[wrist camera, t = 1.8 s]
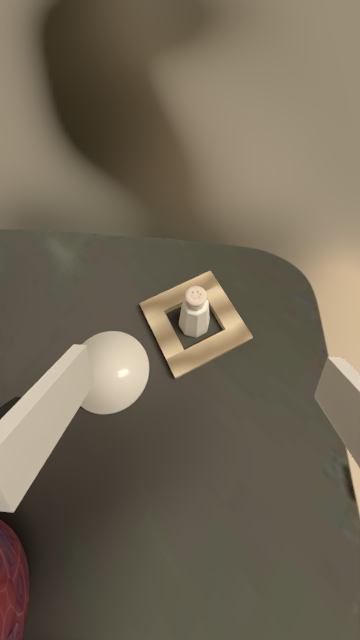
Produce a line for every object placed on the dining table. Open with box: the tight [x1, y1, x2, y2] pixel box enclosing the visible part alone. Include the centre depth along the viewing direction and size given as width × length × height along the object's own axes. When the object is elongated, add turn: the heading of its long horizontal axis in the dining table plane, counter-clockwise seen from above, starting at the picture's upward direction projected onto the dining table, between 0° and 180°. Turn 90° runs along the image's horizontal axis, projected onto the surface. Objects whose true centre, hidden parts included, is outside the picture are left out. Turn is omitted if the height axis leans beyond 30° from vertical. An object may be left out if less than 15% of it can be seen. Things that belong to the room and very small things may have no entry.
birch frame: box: [139, 271, 253, 379], centre depth 38 cm, size 14×14×2 cm
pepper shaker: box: [179, 286, 209, 338], centre depth 33 cm, size 5×5×11 cm
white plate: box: [80, 331, 150, 414], centre depth 36 cm, size 13×13×1 cm
